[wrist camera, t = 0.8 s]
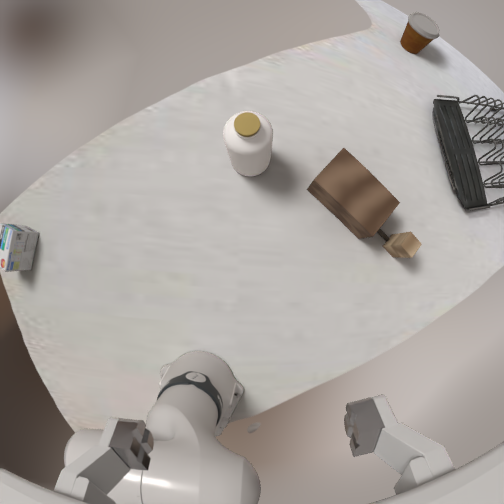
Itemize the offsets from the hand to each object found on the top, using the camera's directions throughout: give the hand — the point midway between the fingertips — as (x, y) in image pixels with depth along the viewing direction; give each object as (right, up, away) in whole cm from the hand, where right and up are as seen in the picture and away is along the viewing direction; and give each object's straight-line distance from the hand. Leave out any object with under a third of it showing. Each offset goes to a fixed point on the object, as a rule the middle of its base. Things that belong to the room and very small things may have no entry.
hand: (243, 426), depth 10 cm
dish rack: (+68, +35, +49) cm, 91 cm away
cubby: (+21, +18, +50) cm, 57 cm away
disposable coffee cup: (+46, +66, +50) cm, 95 cm away
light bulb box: (-59, +8, +52) cm, 79 cm away
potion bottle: (0, +26, +51) cm, 57 cm away
